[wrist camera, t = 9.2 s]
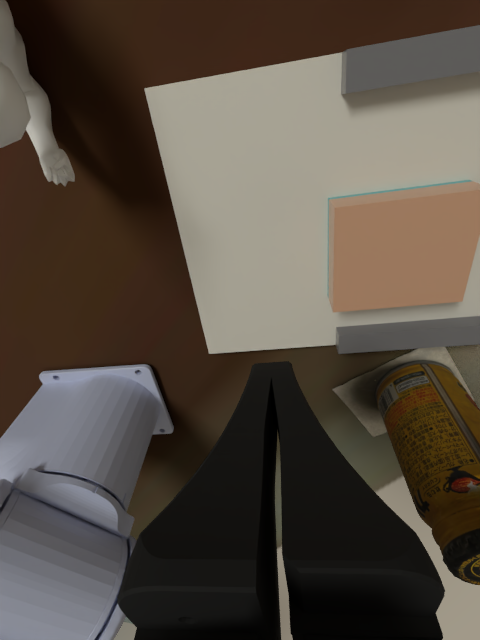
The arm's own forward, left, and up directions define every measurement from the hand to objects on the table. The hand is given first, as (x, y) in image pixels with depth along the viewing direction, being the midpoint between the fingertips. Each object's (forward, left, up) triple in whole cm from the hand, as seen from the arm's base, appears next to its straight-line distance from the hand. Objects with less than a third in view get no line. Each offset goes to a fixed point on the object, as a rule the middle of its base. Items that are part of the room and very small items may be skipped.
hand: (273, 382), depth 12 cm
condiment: (+9, -12, -11) cm, 19 cm away
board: (+4, +2, -10) cm, 11 cm away
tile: (+3, +1, -9) cm, 9 cm away
